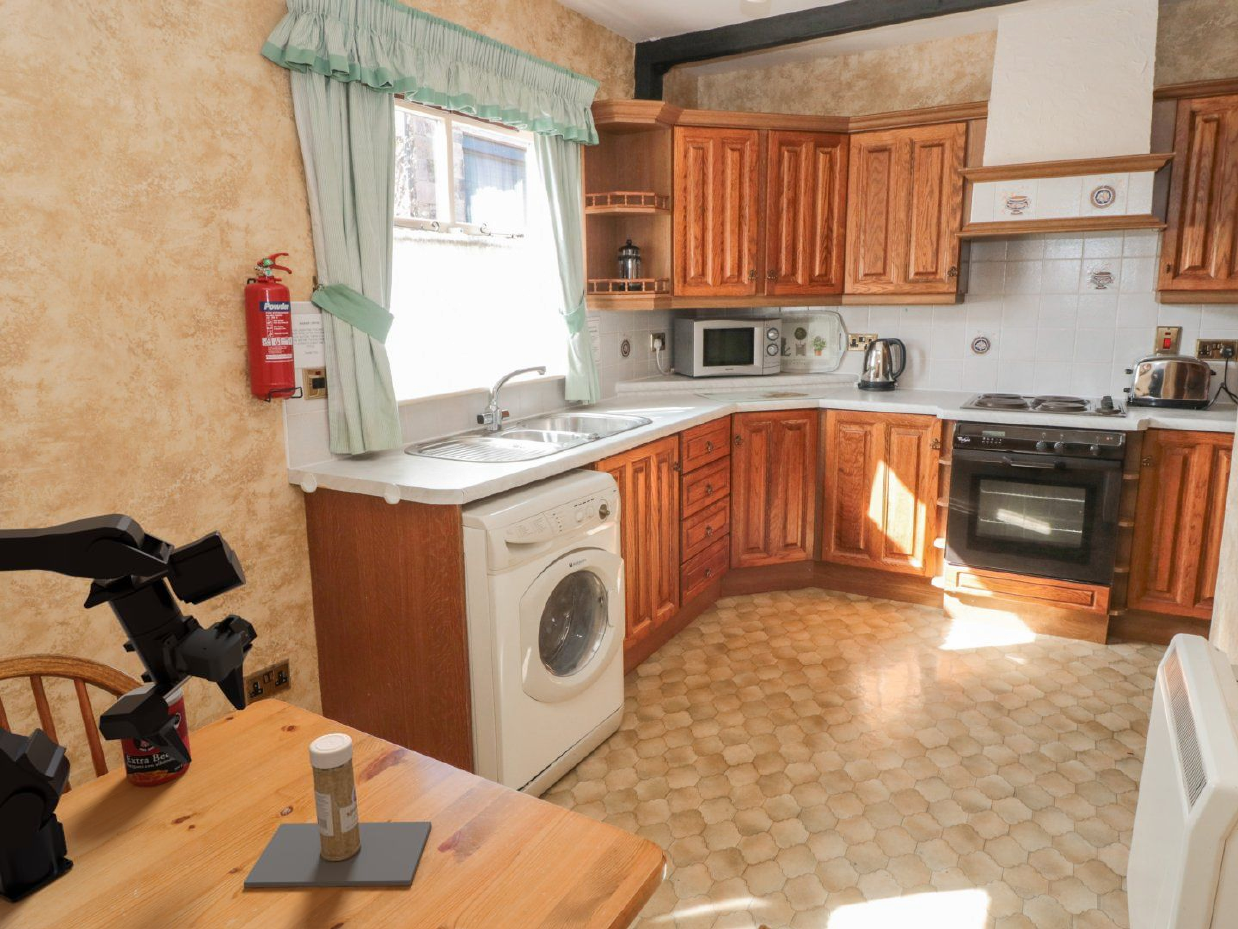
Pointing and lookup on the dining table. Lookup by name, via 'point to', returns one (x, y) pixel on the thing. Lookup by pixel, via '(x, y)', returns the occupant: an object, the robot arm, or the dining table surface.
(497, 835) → the dining table surface
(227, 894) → the dining table surface
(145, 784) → the canned food
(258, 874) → the charcoal mat
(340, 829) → the spice jar
